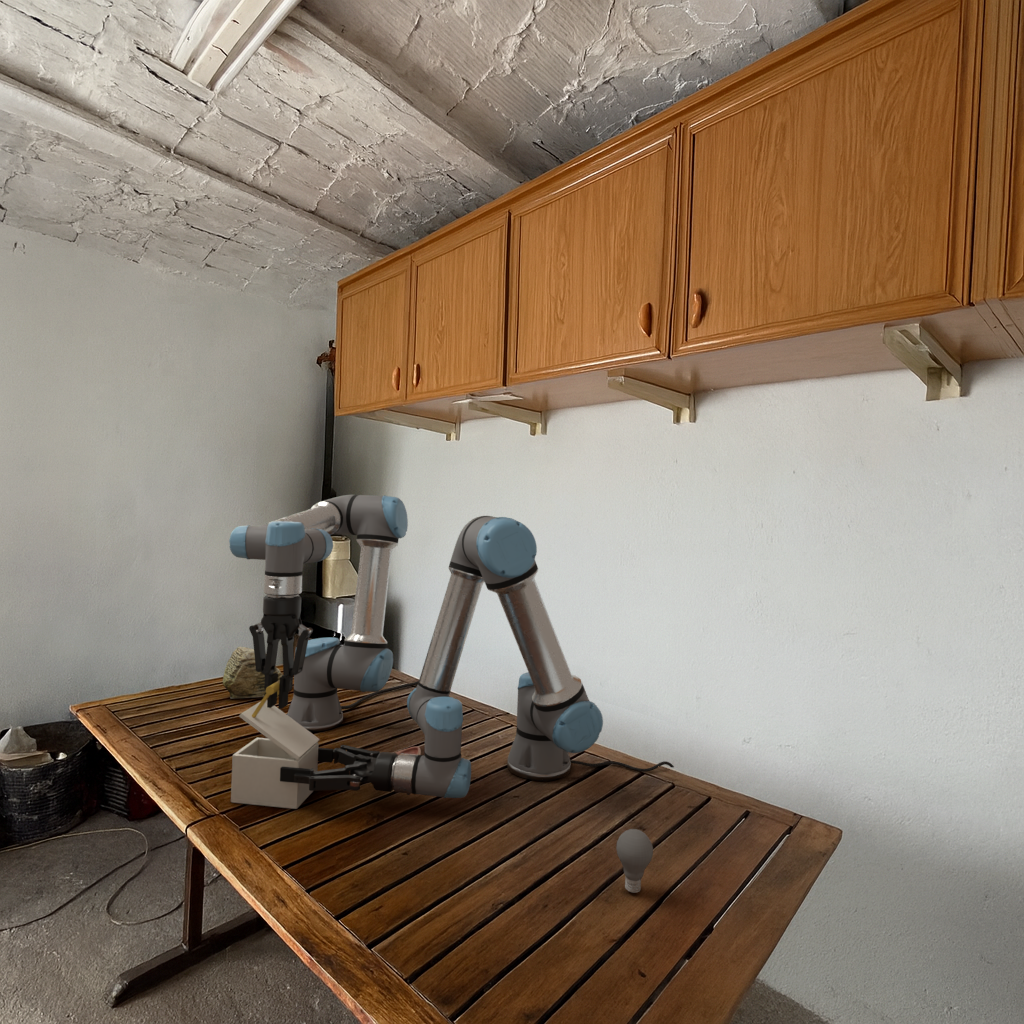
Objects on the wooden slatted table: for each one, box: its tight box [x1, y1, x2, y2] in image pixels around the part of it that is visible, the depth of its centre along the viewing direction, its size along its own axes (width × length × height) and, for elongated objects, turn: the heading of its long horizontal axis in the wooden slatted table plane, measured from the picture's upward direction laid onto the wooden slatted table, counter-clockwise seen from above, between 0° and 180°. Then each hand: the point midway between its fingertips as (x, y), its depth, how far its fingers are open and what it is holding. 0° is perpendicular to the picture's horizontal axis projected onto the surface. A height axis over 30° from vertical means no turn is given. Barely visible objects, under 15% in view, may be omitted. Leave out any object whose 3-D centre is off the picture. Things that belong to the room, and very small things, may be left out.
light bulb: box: [615, 828, 654, 894], centre depth 106 cm, size 6×6×10 cm
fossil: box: [222, 646, 283, 699], centre depth 198 cm, size 9×18×15 cm, turn 132°
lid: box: [238, 680, 320, 760], centre depth 133 cm, size 15×10×9 cm
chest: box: [230, 737, 320, 810], centre depth 134 cm, size 14×10×10 cm
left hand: (277, 705), depth 133 cm, fingers closed on lid, 2 cm apart
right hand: (292, 763), depth 133 cm, fingers closed on chest, 10 cm apart
